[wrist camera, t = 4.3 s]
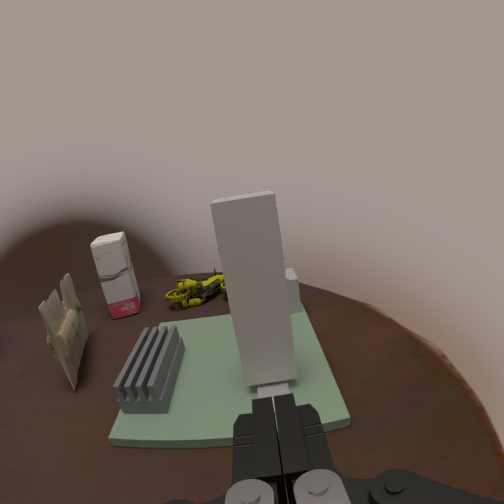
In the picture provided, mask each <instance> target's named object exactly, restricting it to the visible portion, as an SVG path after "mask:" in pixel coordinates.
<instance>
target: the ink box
mask: <svg viewBox="0 0 504 504" xmlns="http://www.w3.org/2000/svg"><path fill="white" fill-rule="evenodd" d="M91 250H92V253H93V257H94V261H95V265H96V268H97V272H98V275H99V278H100V282H101V285H102V289H103V292H104V295H105V298H106V301H107V305H108V308H109V311H110V314H111V316H112V319H117V318H121V317H125V316H129V315H133V314H136V313H140V293H139V289H138V285H137V282H136V278H135V275H134V271H133V267H132V263H131V259H130V254H129V250H128V246H127V242H126V238H125V234H124V232H119V233H114V234H109V235H104V236H100V237H98V238H96V239H95V240H94V241H93V243H92V244H91Z"/></svg>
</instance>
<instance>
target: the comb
mask: <svg viewBox="0 0 504 504" xmlns="http://www.w3.org/2000/svg"><path fill="white" fill-rule="evenodd" d="M60 286H61V292H62V297H63V301H62V305H63V307H62V305H61V302H60V299H59V297H58V294H57V291H56V289H54V292H52V293H51V295H50V297H49V300H48V299H47V301H46V303H45V301H43V302H42V303H41V305H40V306H39V311H40V314H41V317H42V319H43V322H44V325H45V327H46V330H47V332H48V336H47V345H48V349H49V351H50V353H51V354H52V356H53V357H54V358H55V359H56V360H59V361H60V363H61V365H62V367H63V369H64V371H65V373H66V375H67V378H68V380H69V382H70V384H71V386H72V388H73V390H74V391H75V388H76V384H77V375H78V373H77V372H78V370H79V365H80V361H81V357H82V355H83V349H84V347H85V342H87V339H88V337H89V333H88V329H87V325H86V322H85V319H84V315H83V311H82V309H83V307H81V306H80V303H79V301H78V298H77V296H76V293H75V290H74V286H73V282H72V279H71V277H70V275H69V273H67V274H66V275H65V276H64V282H63V280H62V281H61V283H60Z"/></svg>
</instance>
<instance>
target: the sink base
mask: <svg viewBox="0 0 504 504" xmlns="http://www.w3.org/2000/svg"><path fill="white" fill-rule="evenodd" d="M285 273H286V281H287V289H288V297H289V306H290V314H291V323H292V332H293V341H294V350H295V359H296V369H297V378H296V379H290V380H284V381H278V382H271V383H265V384H258V385H250V386H246V382H245V377H244V373H243V368H242V364H241V359H240V354H239V350H238V345H237V340H236V336H235V331H234V326H233V321H232V316H231V314H228V315H221V316H213V317H206V318H198V319H190V320H182V321H173V322H165V323H160V325H159V327H153V329H152V331H151V332H150V329H149V328H144V330H143V332H142V334H141V335H140V337H139V339H138V341H137V343H136V344H135V346H134V348H133V350H132V352H131V354H130V355H129V357H128V359H127V361H126V363H125V365H124V367H123V368H122V370H121V372H120V374H119V376H118V378H117V380H116V382H115V384H114V385H113V388H114V390H115V392H116V394H117V396H118V400H117V402H118V404H119V406H120V407H121V409H120V412H119V414H118V416H117V419H116V421H115V423H114V426H113V428H112V430H111V433H110V435H109V437H108V438H109V440H110V441H111V443H112V444H113V446H122V447H138V448H207V447H224V446H233V425H234V423H235V421H236V419H237V418H238V416H239V414H247V413H252V399H257V398H265V397H271V396H272V401H273V407H274V412H275V405H274V397H273V396H277V395H283V394H289V393H293V395H294V399H295V404H296V406H300V405H305V404H311V405H312V406H313V407H314V408H315V409H316V410H317V411H318V413H319V416H320V420H321V423H322V426H323V430H324V432H327V431H331V430H336V429H340V428H344V427H348V426H350V415H349V413H348V411H347V408H346V406H345V403H344V401H343V398H342V396H341V394H340V391H339V389H338V386H337V384H336V382H335V379H334V377H333V374H332V372H331V370H330V367H329V365H328V363H327V360H326V358H325V356H324V353H323V351H322V348H321V346H320V344H319V341H318V339H317V337H316V335H315V332H314V330H313V328H312V325H311V323H310V321H309V318H308V316H307V314H306V311H305V309H304V307H303V305H302V303H300V294H299V285H298V278H297V277H296V274H295V272H294V270H293V268H288V269H285ZM275 418H276V412H275ZM276 424H277V419H276ZM277 430H278V427H277ZM278 437H279V434H278Z"/></svg>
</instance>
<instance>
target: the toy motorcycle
mask: <svg viewBox="0 0 504 504" xmlns="http://www.w3.org/2000/svg"><path fill="white" fill-rule="evenodd" d="M214 272H215V273H214V274H215V276H213V277H211V278H209V279H208V278H207V279H201V280H195V279H191V278H190V279H185V280H177V281H176V284H177V288H178V289H177V290H173V291H170V292H169V293H168V294H166V295H165V297H166V300H167V301H168V302H178V301H182V300H183V301H182V303H183V307H184V308H186V307H188V305H190V307H192V306H198V305H200V304H201V303H203V302H205V300H206V295H210V294H211V293H212V292H214V291H215V290H216V289H217V288H218V290H219V287H220V289H221V291H222V292H227V291H226V286H225V281H224V276H223V275H216V271H215V269H214ZM182 293H184V294H182ZM194 294H196V295H197V296H202V299H200V298H194V297H197V296H194ZM173 295H174V296H173ZM190 295H192V296H193V299H188V300H189V301H187V300H185V299H187V298H189V297H190Z"/></svg>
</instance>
